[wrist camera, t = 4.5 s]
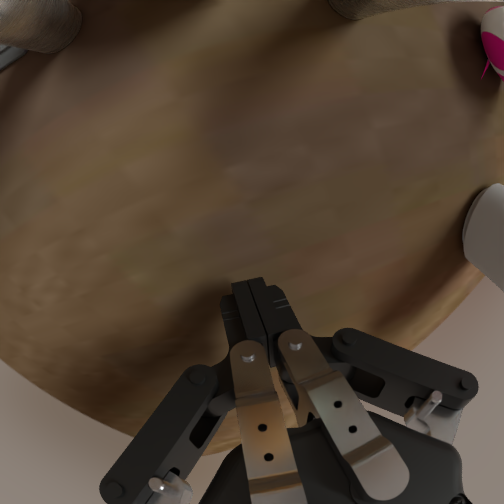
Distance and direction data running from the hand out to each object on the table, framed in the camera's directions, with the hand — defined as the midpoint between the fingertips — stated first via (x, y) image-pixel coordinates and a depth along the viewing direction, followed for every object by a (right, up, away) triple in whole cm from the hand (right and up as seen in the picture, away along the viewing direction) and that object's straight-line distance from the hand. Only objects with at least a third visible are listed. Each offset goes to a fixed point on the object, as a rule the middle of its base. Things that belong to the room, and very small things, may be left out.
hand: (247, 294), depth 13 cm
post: (-8, +11, -7) cm, 15 cm away
